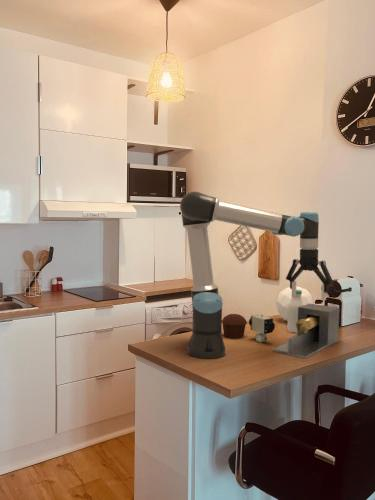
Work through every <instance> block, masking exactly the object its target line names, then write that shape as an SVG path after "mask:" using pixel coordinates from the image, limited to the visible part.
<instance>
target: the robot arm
mask: <svg viewBox="0 0 375 500" xmlns="http://www.w3.org/2000/svg"><path fill="white" fill-rule="evenodd" d="M179 207H180V208H179V209H180V212H181V220H182V226H183V227H184V229H186V231H187V240H188V250H189V257H190V266H191V273H192V275H191V276H192V282H193V285H192V287H191V288H190V295H191V302H192V306H191V308H192V327H191V328H192V333H191V335H190V339H189V342H188V345H187V354H188V353H189V354H190V356H191V355H192V357H196V358H199V359H217V358H222V357H223V356H225V355H226V351H227V350H226V345H225V342H224V338H223V335H222V334H223V333H222V332H223V331H222V330H223V324H222V320H223V316H222V315H223V307H224V306H223V298H222V295H220V294H219V287H218V285H217V284H215V282H214V275H213V267H212V265H213V264H212V256H211V248H210V240H209V233H208V231H209V230H208V227H209V226H210V224H211V223H213V222H215V221H218V222H223V223H227V224H233V225H238V226H243V227H248V228H251V229H257V230H262V231H267V232H271V233H272V235H275V236H289V237H299V247H300V250H299V259H298V258H296V259H295V258H294V259H292V264H291V266H290V269H289V271H288V273H287V275H286V277H285V280H286V281H289V287H290V289H292V297H295V296H296V286H297V281H296V279H298V277H299V276H300V275H301V274H302V273H303V271H309V272H310V271H311V272H312V271H313V272H314V273H315V274H316V276H317V277H318V279H319V280H320V281H321V283H322V284H321V301H324V302H325V301H326V300H327V293H328V292H329V285H330V284H333V282H334V280H333V279H332V278H333V277H332V276H331V273H330V272H329V270H328V268H327V265H326V260H320V261H319V249H318V248H319V229H320V228H319V224H320V222H319V214H318V212H316V211H307V212H305V211H302V212H300V214H299V216H291V215H286V214H282V213H279V212H278V213H277V212H273V211H272V212H271V211H267V210H263V209H258V208H253V207H249V206H244V205H239V204H234V203H231V202H230V203H229V202H226V201H220V200H219V199H218V197H214V196H210V195H207V194H205V193H202V192H200V191H190V192H188V193H185V194H184V196H182V199H180V204H179ZM298 265H300V266H299V267H298ZM318 266H320V268H321V270H322V272H321V270H320V268H319V267H318ZM297 267H298V269H297ZM296 269H297V270H296ZM295 271H296V272H295ZM189 354H188V355H189Z"/></svg>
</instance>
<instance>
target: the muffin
mask: <svg viewBox="0 0 375 500" xmlns="http://www.w3.org/2000/svg"><path fill="white" fill-rule="evenodd" d="M247 324H248V321H247V319H246V318H245V317H244V316H243V315H241V314H237V313H230V314H227V315H226V316H224V317H222V330H223V331H222V332H223V336H224V337H225V338H226V339H227V338H228V339H235V340H238V339H243V337H244V335H245V330H246V325H247Z"/></svg>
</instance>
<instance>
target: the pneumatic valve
mask: <svg viewBox="0 0 375 500" xmlns="http://www.w3.org/2000/svg"><path fill="white" fill-rule="evenodd" d="M248 325H249V326H250V330H251V331H253V332H254V331H255V332H256V333H255V341H256V342H258V343H261V344H262V343H266V342H267V341H268V337H267V336H268V335H267V334H271V333H273V332H274V331H275V328H276V325H275V323H274V318H272V317H269V316H265V315H264V314H263V313H262V314H255V315H251V316H250V318H249V320H248Z"/></svg>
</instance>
